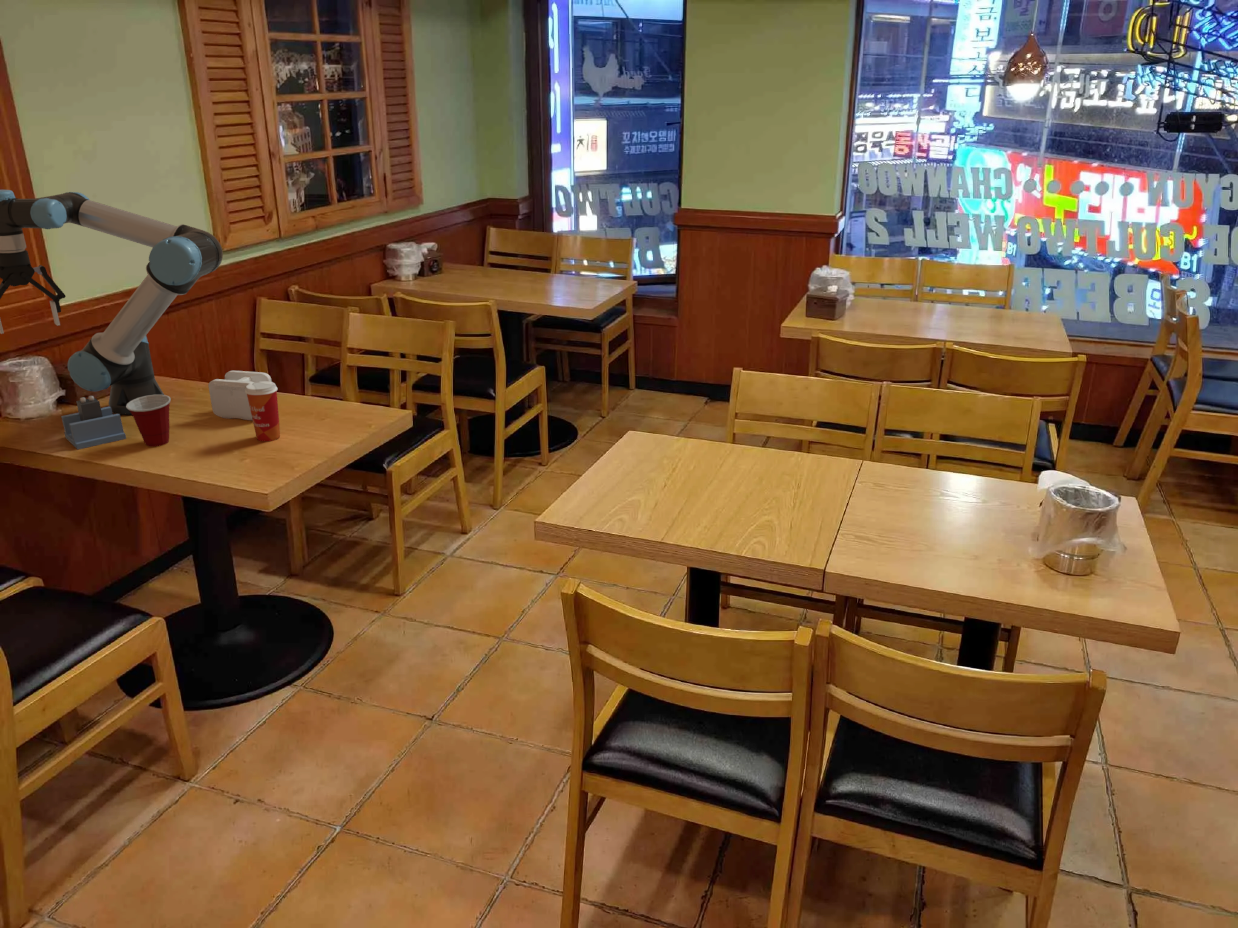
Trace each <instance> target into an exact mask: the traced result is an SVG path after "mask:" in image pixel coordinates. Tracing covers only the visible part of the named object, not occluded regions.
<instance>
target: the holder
mask: <svg viewBox="0 0 1238 928" xmlns="http://www.w3.org/2000/svg"><path fill="white" fill-rule="evenodd" d="M101 411H102V416H103V417H99V418H94V419H90V420H85V421H81V420H80V416H79V412H75V413H70V414H65V415H61V421H62V425H63V428H64V432H63V433H64V437H65V439H66V441H68V442H70V444H71V445H72V446H73V447H74V448H75V449H76V450H82V449H87V448H90V447H95V446H99V445H105V444H109V443H112V442H119V441H123V440H126V439H127V436H126V435H127V434H126V433H125V431H124V427H123V423H122V422H123V421H122V418H121V414H115V413H112V409H111V407H110V406H109V405H108V406H104V407H101Z"/></svg>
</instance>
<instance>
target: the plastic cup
mask: <svg viewBox="0 0 1238 928" xmlns="http://www.w3.org/2000/svg"><path fill="white" fill-rule="evenodd" d="M171 399H172V398H171V397H170V396H169V395H166V394H164V395H148V396H143V397H139V398H136V399H134V400H132V401H130V402H129V403H127V405H126V408H127V409H128V410H129V411H130V412H131V414H130V415H131V416H132V417H133V420H134V421H135V424H136V427H137V429H138V431H139V433H140V435H141V438H142V440H143V442H144V444H145V446H147V447H149V448H150V447H161V446H165V445H167V444H168V443H169V442H170V403H171Z"/></svg>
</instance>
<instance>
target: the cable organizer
mask: <svg viewBox="0 0 1238 928" xmlns="http://www.w3.org/2000/svg"><path fill="white" fill-rule="evenodd" d="M224 374H225V375H224V379H219V378H216V379H213V380H211V381H209V383H208V391H209V397H210V402H211V404H210V405H211V408H212V412H213V414H214V415H215V416H217V417H220V418H222V419H242V420H244V421H245V420H246V421H253V420H252V415H251V411H250V406H249V402H248V397H247V394H246V393H245V390H246V386H247V385H249V384H252V383H256V382H257V383H259V382H262V381H269V382H273V381H272V378H271V375H269V374H268V373H267V372H261V371H259V372H258V371H247V370H245V371H243V370H229V371H228V372H226V373H224Z"/></svg>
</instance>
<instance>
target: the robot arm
mask: <svg viewBox="0 0 1238 928" xmlns="http://www.w3.org/2000/svg"><path fill="white" fill-rule="evenodd" d="M68 223H70V224H74V225H77V226H80V227H84V228H87V229H91V230H94V231H97V232H101V233H103V234H107V235H110V236H113V237H116V238H120V239H123V240H127V241H130V242H132V243H135V244H140V245H144V246H146V247H148V248H149V247H150V248H152V249H151V250H150V252H149V254H148V263H147V264H146V265H145V266H146V267H145V271H146V273H147V275H146V276H145V277H144V279H143V280H142V282H140V284H139V285H138V287H137V288H136V289H135V291H134V292H133V293H132V294H131V296H130V297H129V298H128V299H127V301H126V303H125V304H124V305H123V307H121V309H120V311H118V313H117V314H116V315H115V317H114V318H113V319H112V321H111V322H110V323H109V325H108V326H107V327H106V328H105V330H104V331H103V332H96V333H95V334H94V335H92V337H91V338H90V339H89V341H88V342H87V343H86V344H85V346H83V348H82V349H81V350H78V351H76V352H74V353H73V354H71V356H70V357H69V358H68V361H67V370H68V372H69V376H70V378H71V379H72V380H73V382H74V383H75V384H76V385H77V386H79V388H81V389H83V390H86V391H88V392H100V391H102V390H104V391H105V390H108V388H109V387H110V393H109V397H108V398H109V399H108V407H109V406H110V407H111V409H112V414H119V415H132V414H131V412H130V411H129V410H128V409H127V408H126V405H127V403H129V402H130V401H132V400H134V399H136V398H139V397H143V396H148V395H165V393H164V392H163V390H162V388H161V387H160V385H159V383H158V381H157V380H156V378H155V377H156V376H155V372H154V367H153V362H152V356H151V351H150V346H149V344H150V343H149V342H148V337H147V334H148V333H149V332H150V331H151V329H152V328H153V327H154V326H155V324H156V323H157V322H158V321H159V319H160V318H161V317H162V316H163V314H164V313H165V312H166V310H167V309H168V308H169V306H170V305H171V303H173V302H174V300H175V299H176V298H177V296H183V295H187V294H188V293H189V291H190V290H191V289H192V287H193V286H194V285H195V284H196V283H197V281H198V280H199V279H200V278H201V277H203V276H206V275H209V274H211V273H213V272H214V271H216V270H217V269H218V268H219V267H220V265H221V263H222V261H223V257H224V253H223V251H224V250H223V248H222V245H221V243H220V241H219V240H218V239H217V238H216V236H214V235H213V234H212V233H210V232H208V231H206V230H203V229H200V228H196V227H193V226H189V225H186V224H183V223H181V224H179V225H175V224H171V223H167V222H164V221H160V220H157V219H154V218H150V217H147V216H145V215H141V214H138V213H134V212H131V211H127V210H124V209H120V208H117V207H114V206H111V205H108V204H103V203H101V202H96V201H94V200H90V198H89V197H88V196H86V195H85V194H84V193H82V192H78V191H69V192H68V191H67V192H64V193H61V194H55V195H48V196H42V197H35V198H18V197H17V198H16V196H15V193H14V192H13V190H10V189H0V279H1V280H2V281H1V283H0V300H1V299H2V297H3V296H4V294H5V293H6V291H7V290H8V289H9V287H18V286H27V285H28V284H31V285H32V286H34V287H35V288H37V289H38V290H39V291H40V292H42V293H43V294H45V295H46V296H47V297H49V298H50V299H51V300H49V304H50V308H51V313H52V314H51V315H52V318H53V323H54V325H56V326H57V327H58V326H61V321H60V318H59V314H60V313H62V308H61V304H60V301H61V300H63V299H65V298H66V294H65V293H64V291H62V289H61V288H60V287H59V286H58V285H57V283H56V282H55V281H54V280H53V279H52V277H51V276H50V275H49V274H48V271H47V268H46V267H45V266H43V265H42V264H40V265H38V266H35V267H32V263H31V260H30V256H29V252H28V250H27V244H26V240H25V235H24V230H23V229H42V230H43V229H45V230H52V229H59V228H60V229H61V228H62V227H63V226H64V225H65V224H68ZM35 273H36V274H37V275H41V276H42V278H43V279H44V280H45V282H46V283H47V284H48V285H49V286H50V287H51V288H52V290H53V291H54V292H55V294H54V293H52V292H51V291H49V289H47V288H45V287H44V286H43V285H41V284H40V283H39V282H38V281H36V280H35V279H34V278H33V276H34V274H35ZM1 320H2V319H1V318H0V334H1V335H3V334H5V332H4V327H3V325H2V324H3V323H2V321H1Z"/></svg>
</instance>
